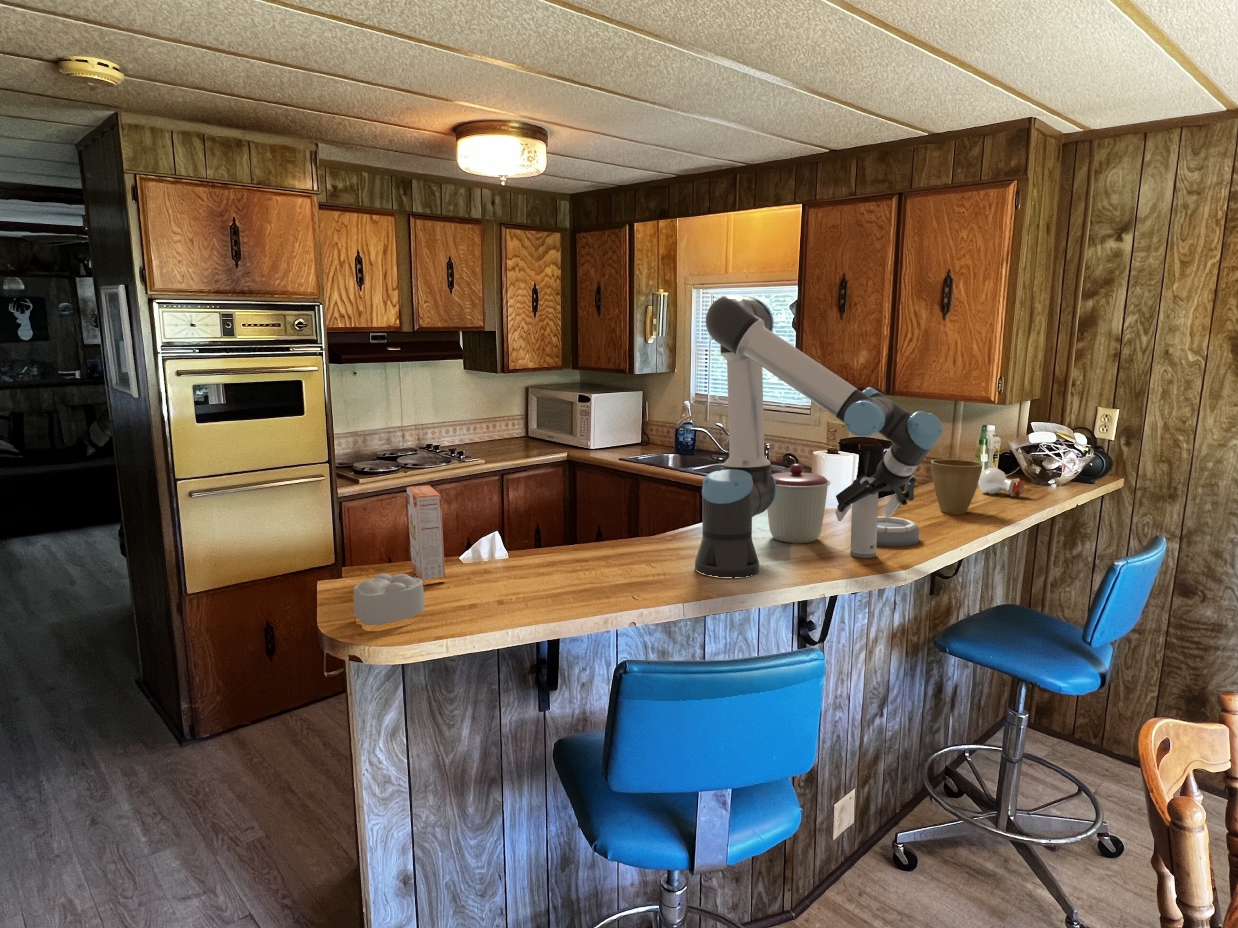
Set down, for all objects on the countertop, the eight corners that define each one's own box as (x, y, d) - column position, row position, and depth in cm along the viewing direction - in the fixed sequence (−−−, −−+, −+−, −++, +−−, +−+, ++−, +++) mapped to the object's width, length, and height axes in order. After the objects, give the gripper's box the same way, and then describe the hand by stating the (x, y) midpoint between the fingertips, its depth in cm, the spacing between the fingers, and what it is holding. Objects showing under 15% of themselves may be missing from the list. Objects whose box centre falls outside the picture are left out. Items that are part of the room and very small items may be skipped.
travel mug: (879, 558, 191) (881, 479, 188) (851, 557, 193) (854, 479, 190) (875, 552, 197) (878, 475, 195) (849, 551, 199) (851, 475, 196)
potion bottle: (978, 494, 279) (1018, 506, 267) (968, 482, 274) (1008, 493, 262) (990, 473, 280) (1030, 483, 268) (980, 460, 275) (1021, 470, 263)
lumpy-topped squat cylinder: (351, 619, 153) (348, 577, 152) (414, 606, 161) (411, 566, 159) (368, 634, 145) (365, 590, 143) (433, 619, 152) (431, 577, 151)
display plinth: (866, 547, 203) (867, 529, 202) (844, 532, 219) (845, 516, 219) (929, 545, 203) (930, 528, 203) (903, 530, 220) (903, 514, 220)
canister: (750, 534, 218) (751, 461, 215) (806, 529, 224) (807, 457, 221) (782, 550, 201) (784, 470, 198) (842, 543, 207) (844, 466, 204)
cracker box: (410, 571, 186) (405, 486, 183) (435, 568, 189) (431, 484, 186) (419, 586, 174) (414, 496, 171) (446, 583, 176) (441, 493, 173)
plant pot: (948, 518, 236) (951, 466, 233) (919, 508, 250) (921, 460, 248) (990, 515, 239) (993, 464, 237) (959, 506, 254) (961, 458, 251)
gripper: (855, 480, 174) (822, 530, 190) (952, 475, 179) (912, 524, 196) (844, 454, 178) (812, 505, 195) (939, 450, 183) (900, 500, 200)
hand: (862, 515), depth 195 cm, fingers open, 13 cm apart
